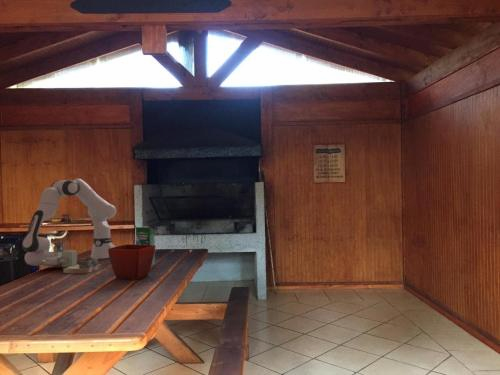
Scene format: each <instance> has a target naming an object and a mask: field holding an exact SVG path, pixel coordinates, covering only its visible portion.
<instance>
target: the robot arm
mask: <svg viewBox="0 0 500 375" xmlns="http://www.w3.org/2000/svg"><path fill="white" fill-rule="evenodd" d="M72 196H76V198H78V199H79V200H80V202H82V204H83V205H84V206H86V207H87V215H88V216H89V218H90V219H91V221H92V226H93V238H92V239H93V240H92V242H93V244H92V246H91V255H90V256H89V257H90V258H98V260H102V259H110V257H109V252H108V249H109V248H113V247H117V246H116V245H115V244H113V242H112V241H113V240H114V238H113V237H112V236H111V226H110V225H109V223H108V221H107V220H108V219H112V218H114V217H116V214H117V207H116V206H115V205H113V204H111V203H109V202H108V201H106V200H105V199H104V198H102V197H101V196H100V194H98V193H96V191H95V190H94V189H93V188H92V186H90V185H89V184H88V183H87V182H86V181H84V180H83V179H81V178H75V179H74V180H72V179H62V180H56V181H54V182H52V184H51V185H50V187H46V188H44V189H43V191H42V194H41V196H40V199H39V204H38V206H37V209H36V211H35V212H34V213H33V215H32V217H31V220H30V223H29V226H28V229H27V232H26V234H25V236H24V238H23V239H22V242H21V247H22V249H23V250H24V251H25V252H26V253H25V254H24V261H25V263H26V264H27V265H29V266H34V267H35V266H36V267H37V266H38V267H39V266H44V267H53V266H55V265H57V264H62V262H67V261H68V258H65V259H62V251H50V249H51V240H50V239H49V238H47V237H44V236H43V237H42V236H38V235H39V232H40V229H41V226H42V224H43V223H44V221H45V220H49V219H50V218H53V217H54V216H55V215H56V214H57V212H58V209H59V204H60V200H61V198H62V197H63V198H65V197H72Z"/></svg>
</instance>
